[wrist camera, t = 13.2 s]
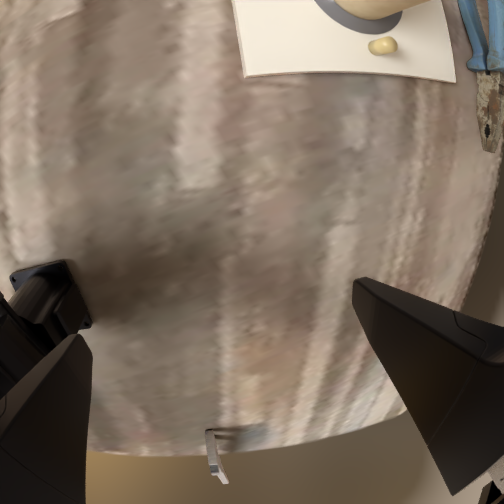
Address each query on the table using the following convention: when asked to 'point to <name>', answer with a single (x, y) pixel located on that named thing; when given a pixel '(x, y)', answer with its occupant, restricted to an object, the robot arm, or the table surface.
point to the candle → (376, 7)
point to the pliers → (487, 68)
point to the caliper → (214, 457)
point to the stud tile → (342, 40)
